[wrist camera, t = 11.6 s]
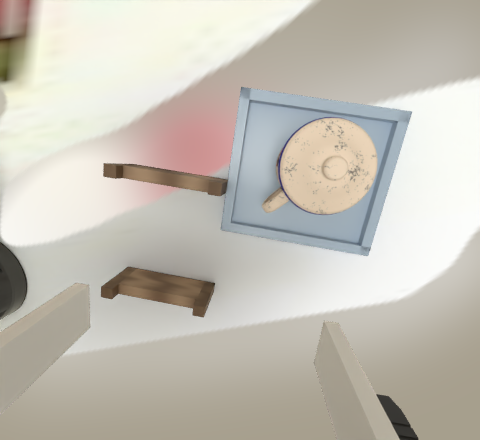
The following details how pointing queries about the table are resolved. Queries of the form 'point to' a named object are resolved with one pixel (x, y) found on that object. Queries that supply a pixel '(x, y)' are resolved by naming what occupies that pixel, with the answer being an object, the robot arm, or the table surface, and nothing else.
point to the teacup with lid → (324, 167)
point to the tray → (265, 182)
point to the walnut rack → (153, 282)
